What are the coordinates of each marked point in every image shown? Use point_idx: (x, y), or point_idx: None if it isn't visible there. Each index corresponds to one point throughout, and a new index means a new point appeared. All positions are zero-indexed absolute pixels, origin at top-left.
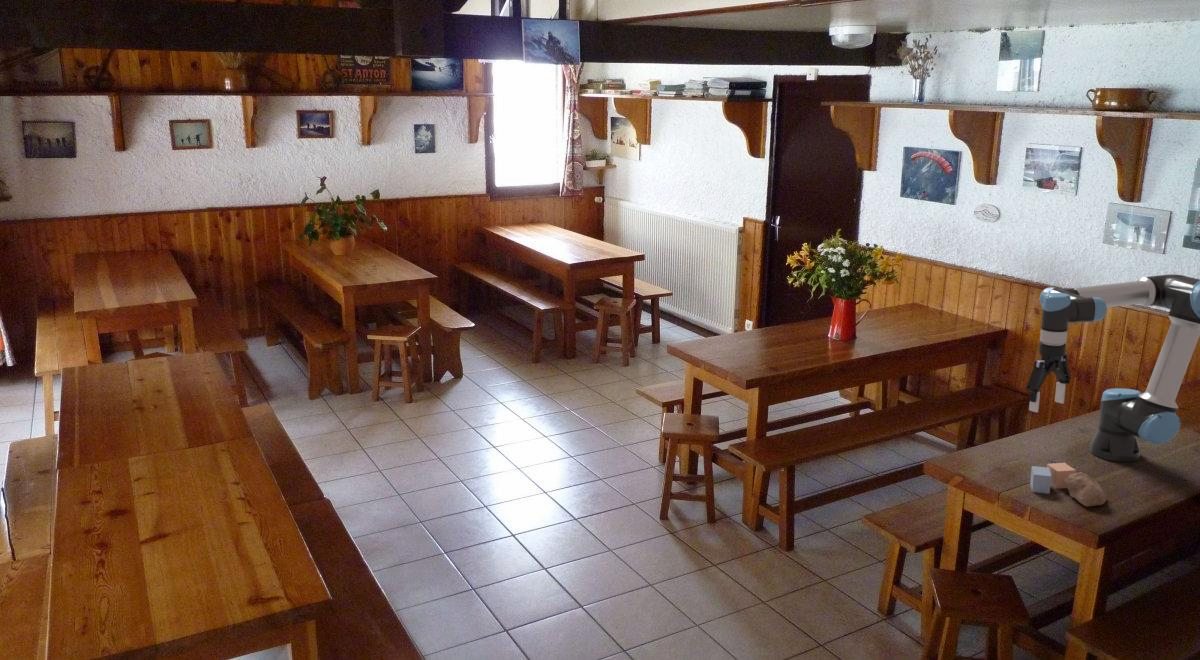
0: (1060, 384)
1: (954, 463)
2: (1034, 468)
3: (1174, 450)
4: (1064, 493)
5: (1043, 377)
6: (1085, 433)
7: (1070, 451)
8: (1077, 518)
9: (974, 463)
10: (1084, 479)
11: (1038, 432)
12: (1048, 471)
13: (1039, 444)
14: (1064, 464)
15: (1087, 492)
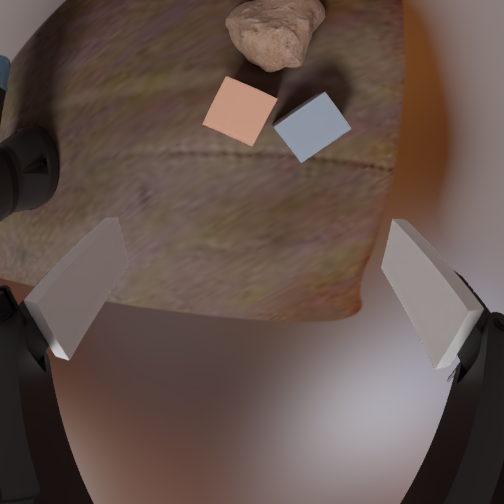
0: (57, 325)
1: (323, 300)
2: (311, 148)
3: None
4: (284, 74)
5: (501, 465)
6: (23, 246)
7: (79, 213)
8: (377, 10)
9: (293, 281)
10: (298, 14)
11: None
12: (300, 113)
13: None
14: (214, 116)
15: (318, 4)
